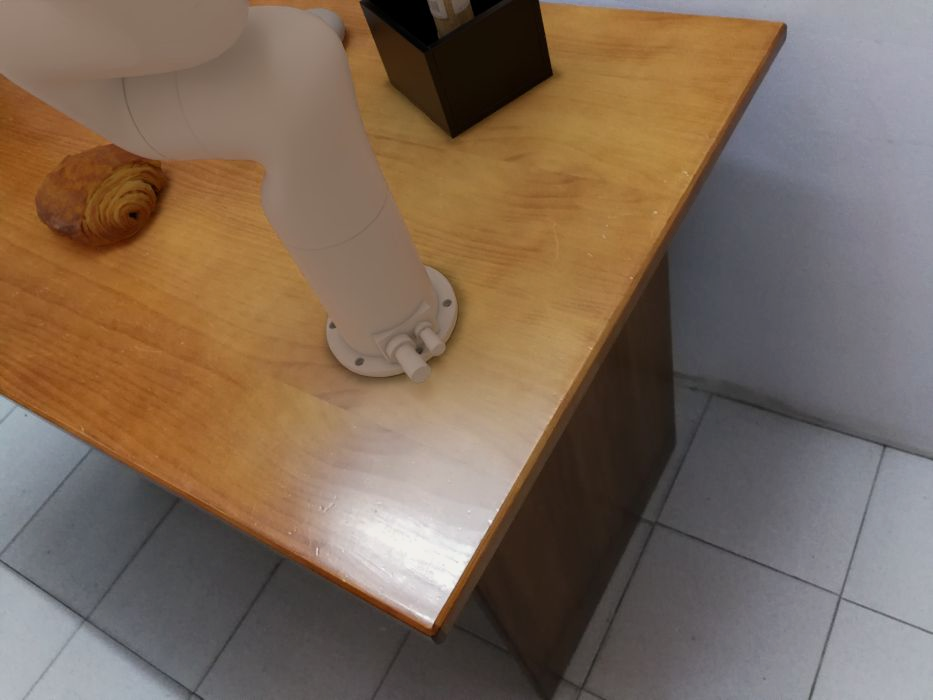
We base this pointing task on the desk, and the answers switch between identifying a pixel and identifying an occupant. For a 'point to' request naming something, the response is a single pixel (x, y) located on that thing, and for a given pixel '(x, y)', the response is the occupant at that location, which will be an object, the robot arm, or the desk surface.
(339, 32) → the donut
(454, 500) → the desk surface
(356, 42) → the desk surface
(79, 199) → the croissant
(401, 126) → the desk surface
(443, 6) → the sprinkles bottle
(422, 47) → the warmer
